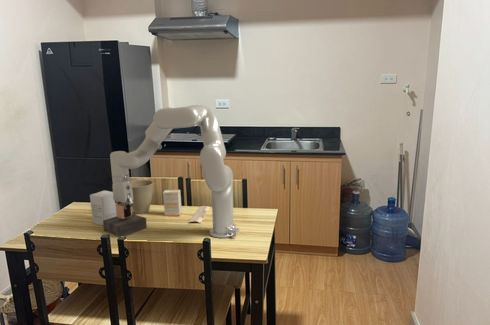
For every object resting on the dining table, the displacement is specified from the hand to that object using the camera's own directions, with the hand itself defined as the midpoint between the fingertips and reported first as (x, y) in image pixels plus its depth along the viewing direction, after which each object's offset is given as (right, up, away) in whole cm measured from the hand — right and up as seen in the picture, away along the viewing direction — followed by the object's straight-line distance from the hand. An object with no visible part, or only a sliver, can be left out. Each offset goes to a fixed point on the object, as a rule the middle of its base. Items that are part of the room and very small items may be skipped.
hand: (124, 215), depth 176 cm
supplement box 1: (-13, -5, +12) cm, 19 cm away
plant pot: (+1, -2, +26) cm, 26 cm away
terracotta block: (0, -1, 0) cm, 1 cm away
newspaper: (+34, -4, +19) cm, 39 cm away
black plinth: (0, -7, +1) cm, 7 cm away
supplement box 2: (+19, -3, +20) cm, 28 cm away
